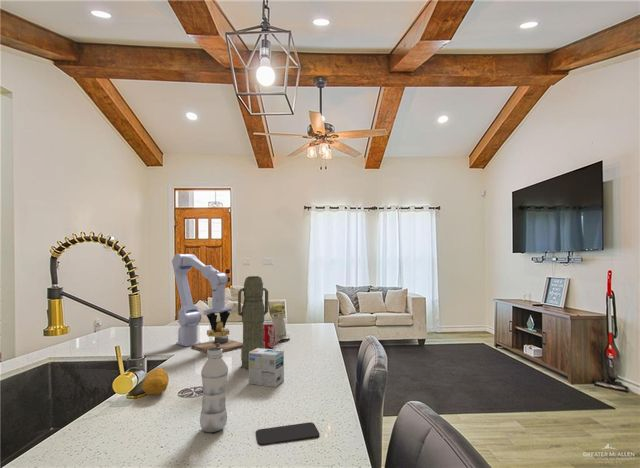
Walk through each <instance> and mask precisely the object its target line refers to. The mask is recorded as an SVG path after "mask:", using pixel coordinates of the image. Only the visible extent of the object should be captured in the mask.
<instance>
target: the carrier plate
mask: <svg viewBox="0 0 640 468" xmlns="http://www.w3.org/2000/svg"><path fill="white" fill-rule="evenodd" d="M242 346H243V342H242V341H236V340H234V339H229V335H226V336H220V337H214V340H209V341H204V342H201V343H199V344H194V345H191V348H192V349H194V348H195V350H198V351H201V352H204V353H207V350H208V349H210V348H222V354H223V353H225V352H229V351H235V350H239V349H242ZM234 349H235V350H234Z"/></svg>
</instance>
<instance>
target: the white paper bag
mask: <svg viewBox="0 0 640 468" xmlns="http://www.w3.org/2000/svg"><path fill="white" fill-rule="evenodd" d="M268 310H269V314H270V315H271V316H273V318H272V320H271V322H273V323H274V326H275V344H276V343H278V342H280V341H281V340H285V339H287V340H289V339H291V336H290V335H288V334H287V329H286V323H285V319H284V316H285V315H286V313H285V305H284V303H281V302H278V303H273V305H272V306H271V308H269V307H268Z"/></svg>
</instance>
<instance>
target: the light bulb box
mask: <svg viewBox="0 0 640 468" xmlns="http://www.w3.org/2000/svg"><path fill="white" fill-rule="evenodd" d="M284 352H285V351H284V350H283V349H274V348H273V349H261V348H257V349H255V350H253V351H250V352H249V369H248V383H247V384H250V385H257V386H264V387H271V388H277V387H279V385H281V384H282V383H283V382H284V381H285V353H284Z"/></svg>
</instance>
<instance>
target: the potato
mask: <svg viewBox="0 0 640 468" xmlns="http://www.w3.org/2000/svg"><path fill="white" fill-rule="evenodd" d="M145 376H146V378H145V377H144V378H145V379H144V378H143V380H142V382H141V383H142V384H141V389H142V391H143V392H145V393H146V394H147V395H150V396H157V395H161V393H163V392H165V391H166V390H167V387H168V385H169V381H170V380H169V375H168V373H167V371H166V370H164V368H161V367H158V368H154V369H152V370H151V371H148V372H147V373H146V375H145Z"/></svg>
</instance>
